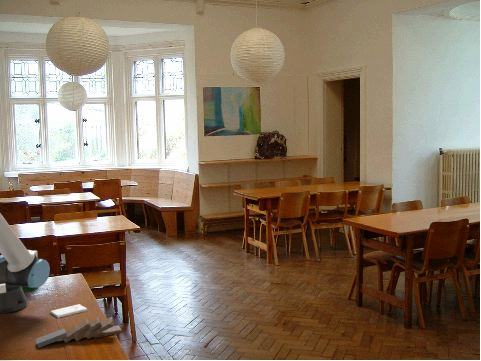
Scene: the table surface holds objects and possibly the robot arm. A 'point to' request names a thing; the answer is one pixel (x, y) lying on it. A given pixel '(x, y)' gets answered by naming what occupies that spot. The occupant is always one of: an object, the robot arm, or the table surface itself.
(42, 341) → the black domino
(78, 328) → the walnut domino
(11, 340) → the table surface
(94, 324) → the walnut domino
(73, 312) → the external hard drive
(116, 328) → the walnut domino
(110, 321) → the walnut domino
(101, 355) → the table surface
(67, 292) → the table surface
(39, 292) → the table surface
